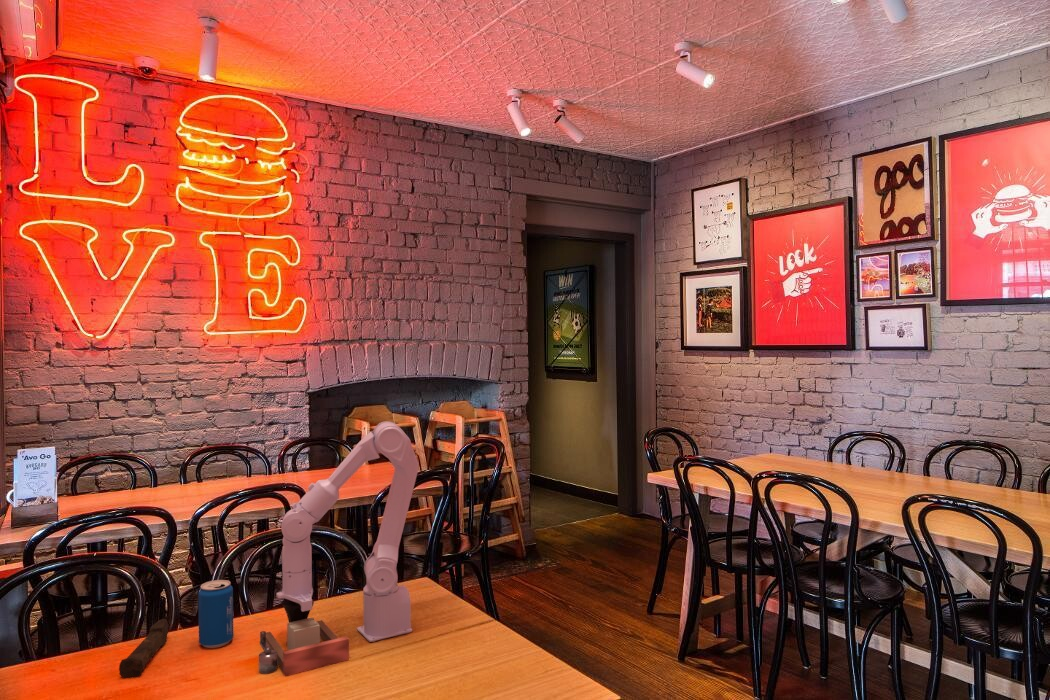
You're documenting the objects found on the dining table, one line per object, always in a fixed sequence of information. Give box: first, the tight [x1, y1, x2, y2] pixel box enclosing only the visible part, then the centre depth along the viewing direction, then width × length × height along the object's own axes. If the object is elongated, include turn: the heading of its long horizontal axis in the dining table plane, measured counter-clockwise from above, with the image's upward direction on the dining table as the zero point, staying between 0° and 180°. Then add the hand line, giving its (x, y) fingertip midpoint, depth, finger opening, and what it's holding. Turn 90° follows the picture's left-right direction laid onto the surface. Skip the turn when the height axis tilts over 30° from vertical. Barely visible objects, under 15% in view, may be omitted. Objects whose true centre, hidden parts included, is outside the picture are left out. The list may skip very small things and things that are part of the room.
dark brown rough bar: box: [118, 618, 169, 679], centre depth 137 cm, size 19×4×5 cm, turn 7°
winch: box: [258, 630, 278, 675], centre depth 132 cm, size 3×6×6 cm, turn 33°
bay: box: [266, 619, 350, 677], centre depth 138 cm, size 12×17×4 cm
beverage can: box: [197, 579, 234, 649], centre depth 143 cm, size 6×6×12 cm
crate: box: [286, 617, 321, 650], centre depth 139 cm, size 5×5×5 cm
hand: (297, 635), depth 143 cm, fingers closed
